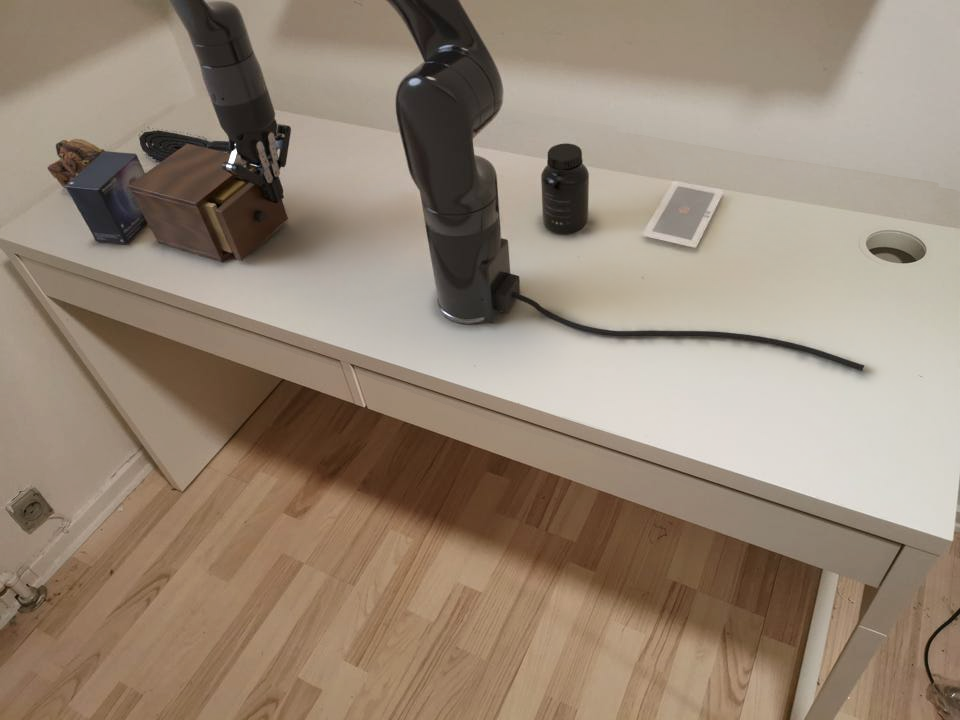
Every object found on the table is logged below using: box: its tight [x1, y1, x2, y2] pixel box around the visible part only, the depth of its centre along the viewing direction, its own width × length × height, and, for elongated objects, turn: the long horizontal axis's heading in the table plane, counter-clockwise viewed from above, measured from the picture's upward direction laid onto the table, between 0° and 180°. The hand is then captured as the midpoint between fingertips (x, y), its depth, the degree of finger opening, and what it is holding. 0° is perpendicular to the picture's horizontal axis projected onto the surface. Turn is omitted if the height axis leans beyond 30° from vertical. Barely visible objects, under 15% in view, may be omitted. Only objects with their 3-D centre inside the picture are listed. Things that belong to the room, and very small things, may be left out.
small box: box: [64, 150, 148, 245], centre depth 112 cm, size 11×6×10 cm, turn 166°
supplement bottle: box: [540, 142, 590, 236], centre depth 102 cm, size 7×7×12 cm
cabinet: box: [128, 144, 250, 263], centre depth 109 cm, size 14×13×11 cm
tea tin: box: [206, 179, 246, 209], centre depth 107 cm, size 5×5×7 cm
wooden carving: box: [47, 138, 105, 189], centre depth 119 cm, size 16×5×10 cm, turn 70°
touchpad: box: [641, 180, 725, 249], centre depth 103 cm, size 8×15×2 cm, turn 152°
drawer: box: [202, 169, 289, 262], centre depth 107 cm, size 14×11×9 cm
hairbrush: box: [138, 126, 232, 162], centre depth 128 cm, size 8×4×25 cm
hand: (275, 199), depth 106 cm, fingers closed
